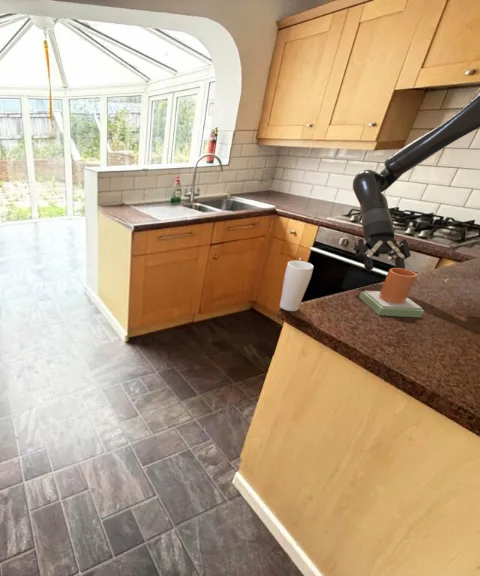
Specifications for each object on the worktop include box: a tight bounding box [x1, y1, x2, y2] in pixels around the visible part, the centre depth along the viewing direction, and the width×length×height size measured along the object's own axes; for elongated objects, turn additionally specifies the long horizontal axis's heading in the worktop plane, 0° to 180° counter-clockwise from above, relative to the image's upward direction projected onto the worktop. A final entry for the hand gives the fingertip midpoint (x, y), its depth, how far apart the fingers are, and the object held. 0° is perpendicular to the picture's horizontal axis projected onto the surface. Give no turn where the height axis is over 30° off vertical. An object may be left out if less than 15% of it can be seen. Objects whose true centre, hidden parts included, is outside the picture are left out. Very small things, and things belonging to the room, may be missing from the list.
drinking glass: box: [279, 260, 314, 312], centre depth 98 cm, size 7×7×15 cm
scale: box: [358, 290, 425, 318], centre depth 100 cm, size 11×11×3 cm
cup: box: [379, 267, 418, 304], centre depth 97 cm, size 6×6×9 cm
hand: (385, 270), depth 102 cm, fingers open, 8 cm apart
